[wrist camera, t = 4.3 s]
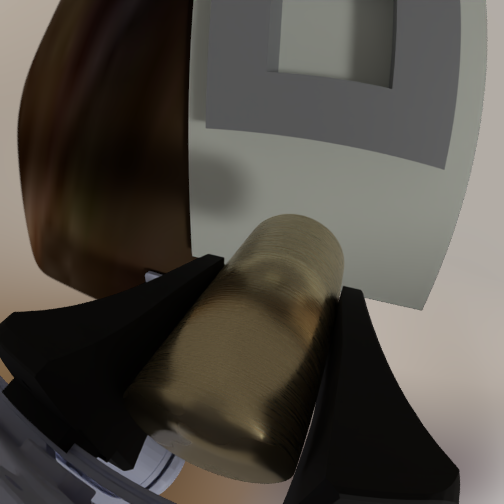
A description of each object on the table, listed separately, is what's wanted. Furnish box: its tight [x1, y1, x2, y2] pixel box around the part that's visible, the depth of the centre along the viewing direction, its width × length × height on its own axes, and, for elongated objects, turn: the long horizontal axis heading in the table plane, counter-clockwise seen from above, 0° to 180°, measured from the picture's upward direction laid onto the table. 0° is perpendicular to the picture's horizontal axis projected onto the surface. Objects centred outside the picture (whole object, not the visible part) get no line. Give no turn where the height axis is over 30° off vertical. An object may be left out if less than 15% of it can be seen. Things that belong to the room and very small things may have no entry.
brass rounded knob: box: [123, 214, 344, 484], centre depth 9 cm, size 4×4×8 cm
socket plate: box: [189, 0, 487, 310], centre depth 13 cm, size 22×16×3 cm
